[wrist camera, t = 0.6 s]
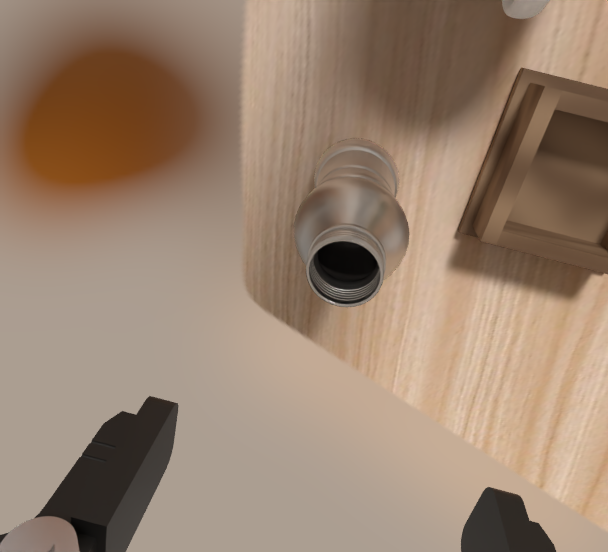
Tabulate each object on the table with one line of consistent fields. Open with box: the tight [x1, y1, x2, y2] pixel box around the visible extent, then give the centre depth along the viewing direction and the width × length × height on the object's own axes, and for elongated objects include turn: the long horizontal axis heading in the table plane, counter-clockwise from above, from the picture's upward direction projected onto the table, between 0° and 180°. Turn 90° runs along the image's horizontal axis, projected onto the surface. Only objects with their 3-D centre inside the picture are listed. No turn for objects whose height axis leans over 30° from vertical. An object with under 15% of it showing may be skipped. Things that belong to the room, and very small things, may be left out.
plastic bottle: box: [294, 138, 409, 307], centre depth 32 cm, size 6×7×20 cm
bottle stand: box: [458, 68, 608, 274], centre depth 37 cm, size 13×13×4 cm
